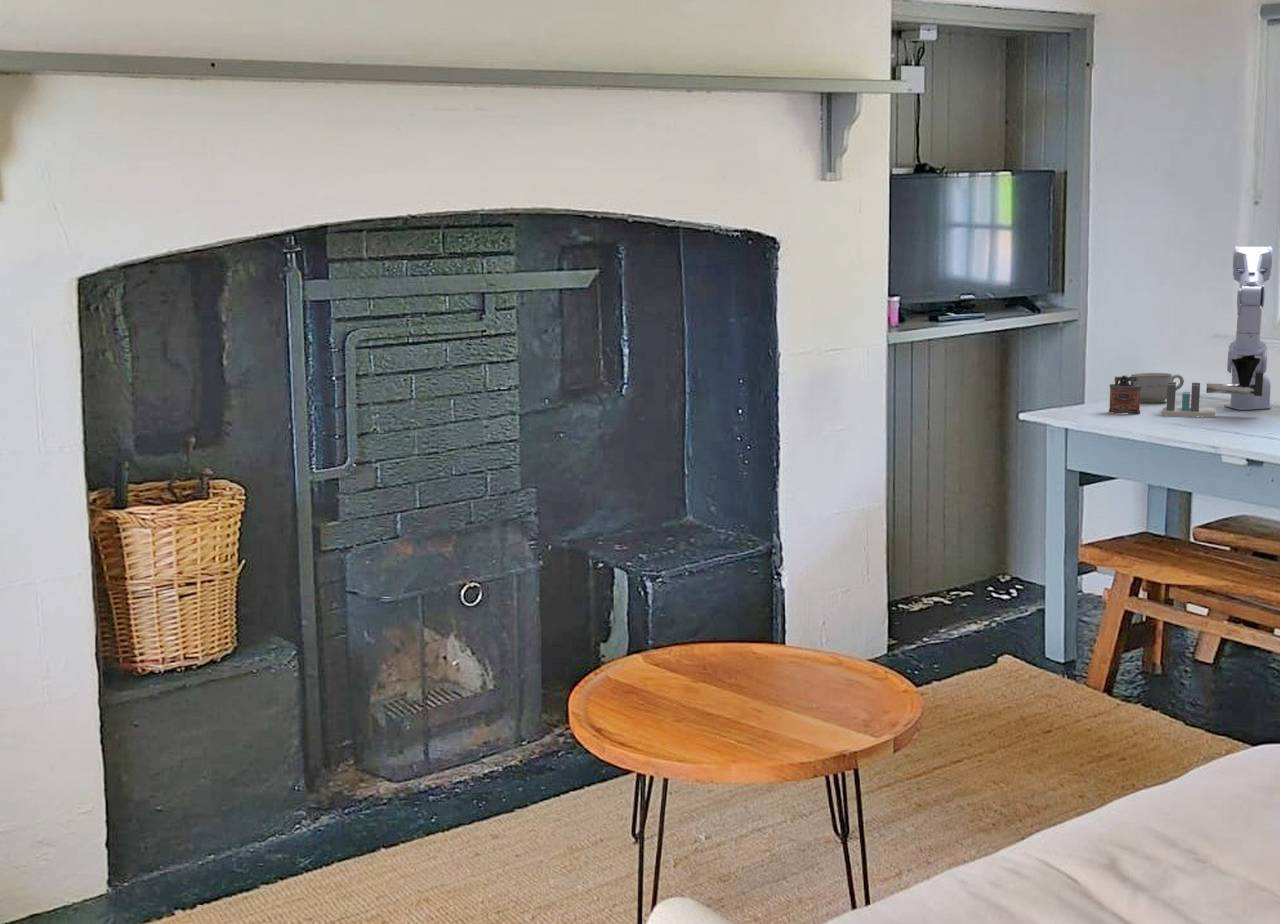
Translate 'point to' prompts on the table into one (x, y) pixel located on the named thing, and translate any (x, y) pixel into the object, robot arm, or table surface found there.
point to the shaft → (1238, 387)
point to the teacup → (1155, 385)
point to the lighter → (1125, 395)
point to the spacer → (1185, 401)
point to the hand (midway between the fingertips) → (1244, 385)
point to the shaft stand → (1193, 410)
